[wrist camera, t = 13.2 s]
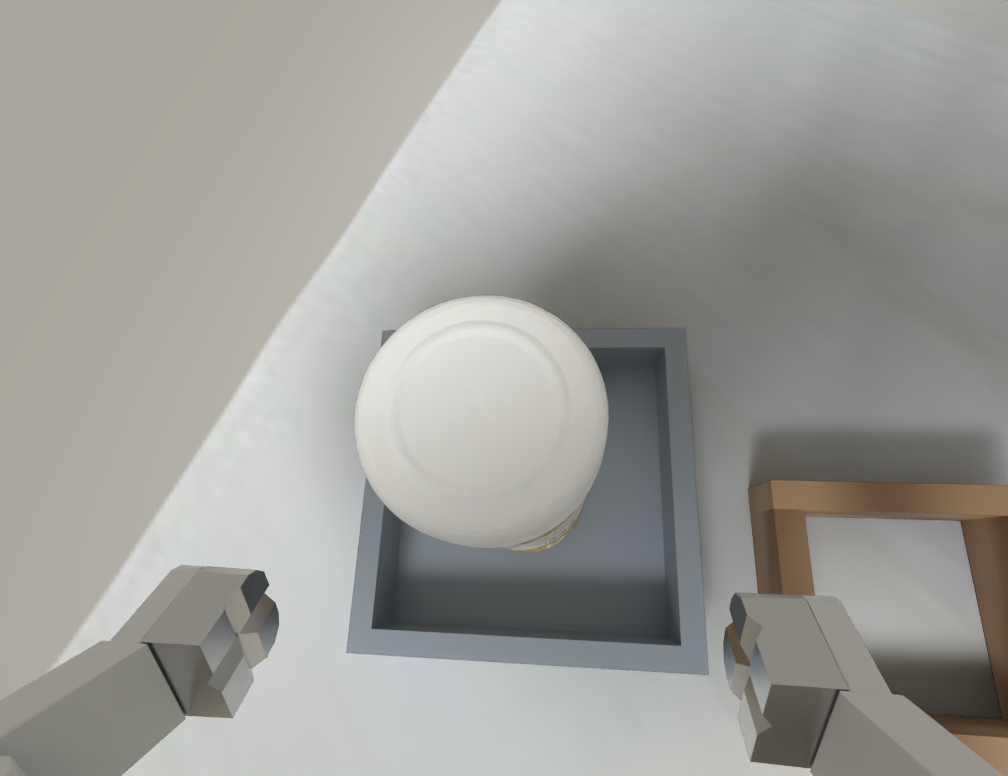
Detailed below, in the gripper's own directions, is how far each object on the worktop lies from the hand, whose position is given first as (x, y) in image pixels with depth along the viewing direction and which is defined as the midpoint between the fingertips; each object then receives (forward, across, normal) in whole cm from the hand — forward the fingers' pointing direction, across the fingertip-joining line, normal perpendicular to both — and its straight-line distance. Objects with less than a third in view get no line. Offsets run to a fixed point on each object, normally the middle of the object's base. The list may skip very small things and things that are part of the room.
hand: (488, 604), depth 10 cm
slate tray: (+12, 0, +6) cm, 13 cm away
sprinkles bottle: (+11, 0, +6) cm, 13 cm away
